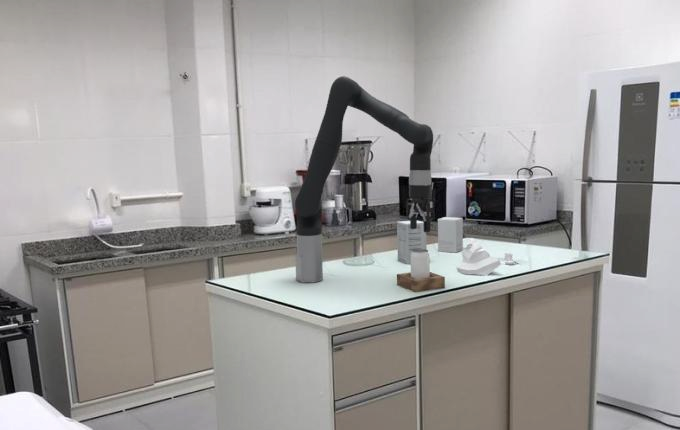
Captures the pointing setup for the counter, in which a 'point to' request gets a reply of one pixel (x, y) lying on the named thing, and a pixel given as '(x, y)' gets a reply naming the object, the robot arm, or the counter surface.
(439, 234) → the supplement box
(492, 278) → the counter surface
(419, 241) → the supplement box
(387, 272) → the counter surface
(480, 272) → the white faceted sculpture
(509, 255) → the teacup and saucer
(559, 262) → the counter surface
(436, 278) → the brown open box
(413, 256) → the can
